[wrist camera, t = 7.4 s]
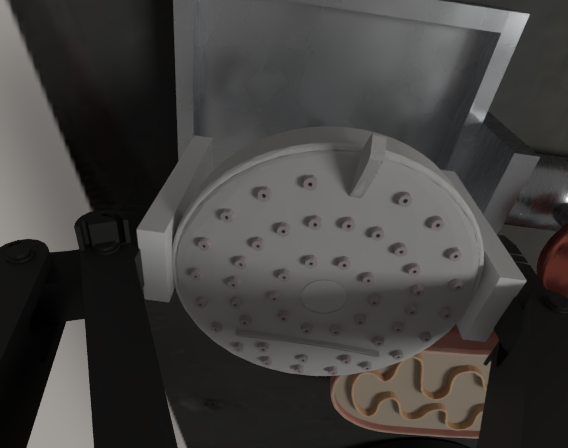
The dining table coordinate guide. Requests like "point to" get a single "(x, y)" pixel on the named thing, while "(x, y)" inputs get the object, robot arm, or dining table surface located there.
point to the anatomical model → (421, 391)
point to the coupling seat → (373, 92)
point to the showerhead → (327, 252)
